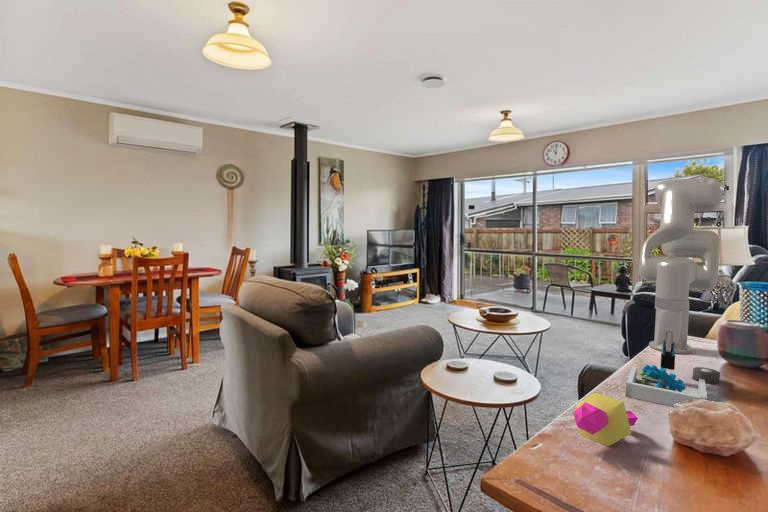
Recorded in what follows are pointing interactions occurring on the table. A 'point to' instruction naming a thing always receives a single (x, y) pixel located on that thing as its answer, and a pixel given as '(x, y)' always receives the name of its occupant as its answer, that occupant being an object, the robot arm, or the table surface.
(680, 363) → the table surface
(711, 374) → the wheel
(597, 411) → the toy
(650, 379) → the gear
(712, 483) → the table surface
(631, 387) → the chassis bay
